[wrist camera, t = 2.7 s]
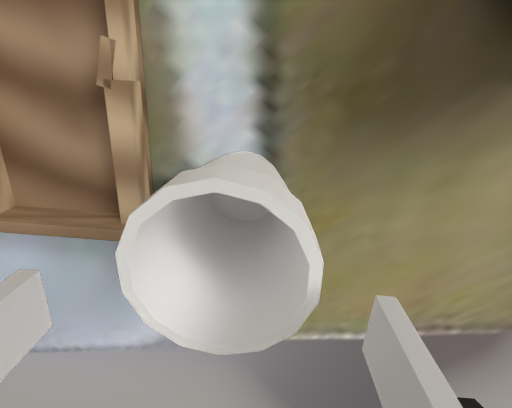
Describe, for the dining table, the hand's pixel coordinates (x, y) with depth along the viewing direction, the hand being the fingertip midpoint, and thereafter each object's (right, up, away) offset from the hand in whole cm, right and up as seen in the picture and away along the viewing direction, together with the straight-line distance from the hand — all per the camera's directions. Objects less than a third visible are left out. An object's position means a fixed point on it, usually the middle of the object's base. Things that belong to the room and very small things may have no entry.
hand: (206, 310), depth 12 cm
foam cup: (+1, +6, +14) cm, 15 cm away
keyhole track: (-14, +14, +11) cm, 22 cm away
